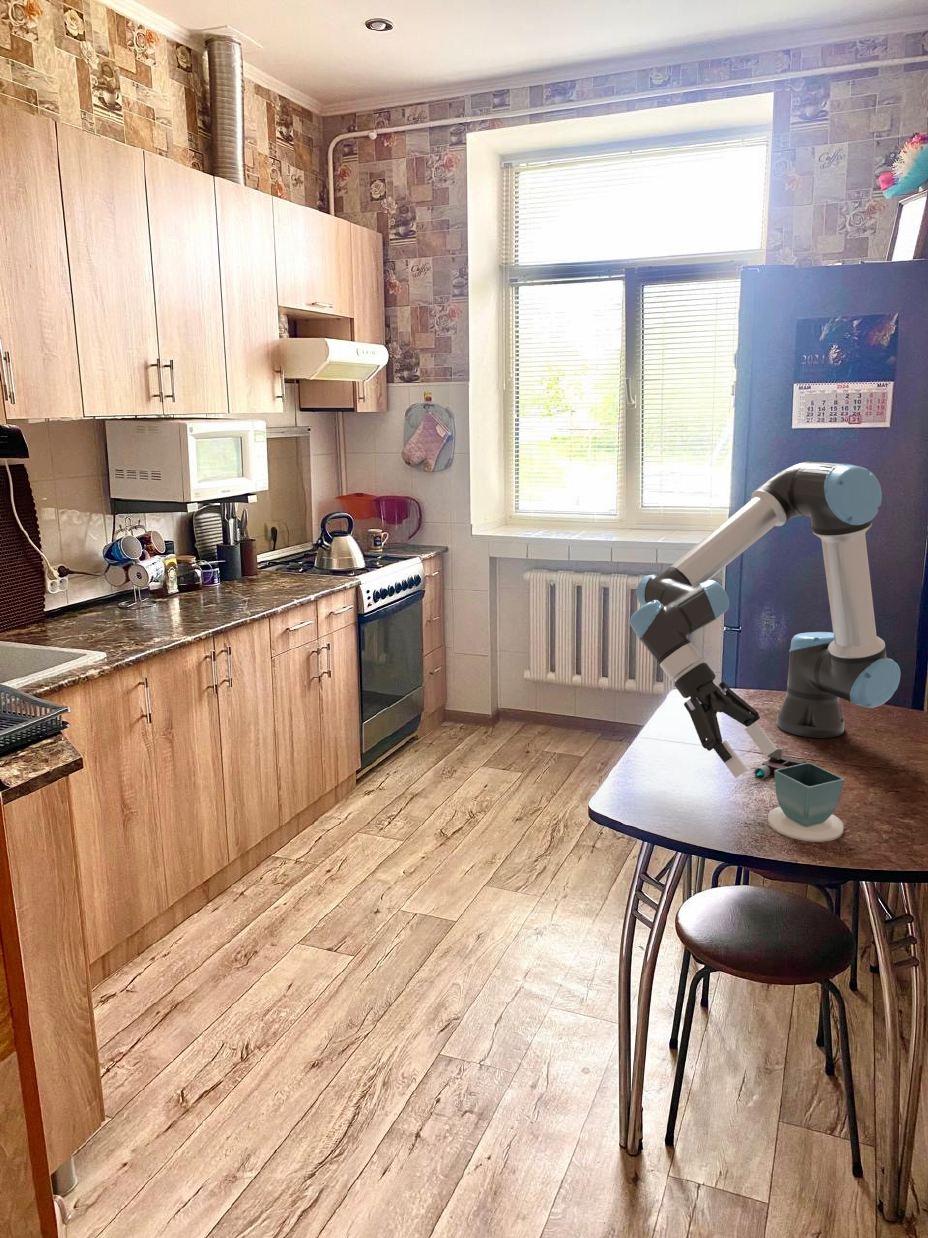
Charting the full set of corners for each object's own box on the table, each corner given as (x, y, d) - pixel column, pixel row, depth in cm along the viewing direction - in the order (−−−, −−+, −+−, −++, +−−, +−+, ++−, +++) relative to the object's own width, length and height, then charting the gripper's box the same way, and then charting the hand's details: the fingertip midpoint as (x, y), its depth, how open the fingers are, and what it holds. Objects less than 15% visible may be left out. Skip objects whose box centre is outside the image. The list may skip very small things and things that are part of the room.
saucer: (810, 806, 178) (810, 800, 178) (859, 835, 166) (859, 829, 166) (753, 816, 174) (753, 810, 174) (798, 846, 162) (799, 840, 162)
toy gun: (749, 778, 192) (750, 756, 191) (776, 762, 201) (778, 741, 200) (793, 792, 186) (795, 769, 185) (820, 775, 194) (822, 753, 193)
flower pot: (804, 834, 164) (809, 787, 162) (769, 814, 172) (773, 769, 170) (841, 825, 168) (846, 778, 166) (805, 806, 176) (809, 761, 174)
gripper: (704, 668, 192) (769, 754, 186) (643, 697, 174) (713, 793, 168) (730, 648, 187) (797, 735, 181) (670, 675, 169) (743, 773, 163)
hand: (757, 763), depth 174 cm, fingers open, 13 cm apart
